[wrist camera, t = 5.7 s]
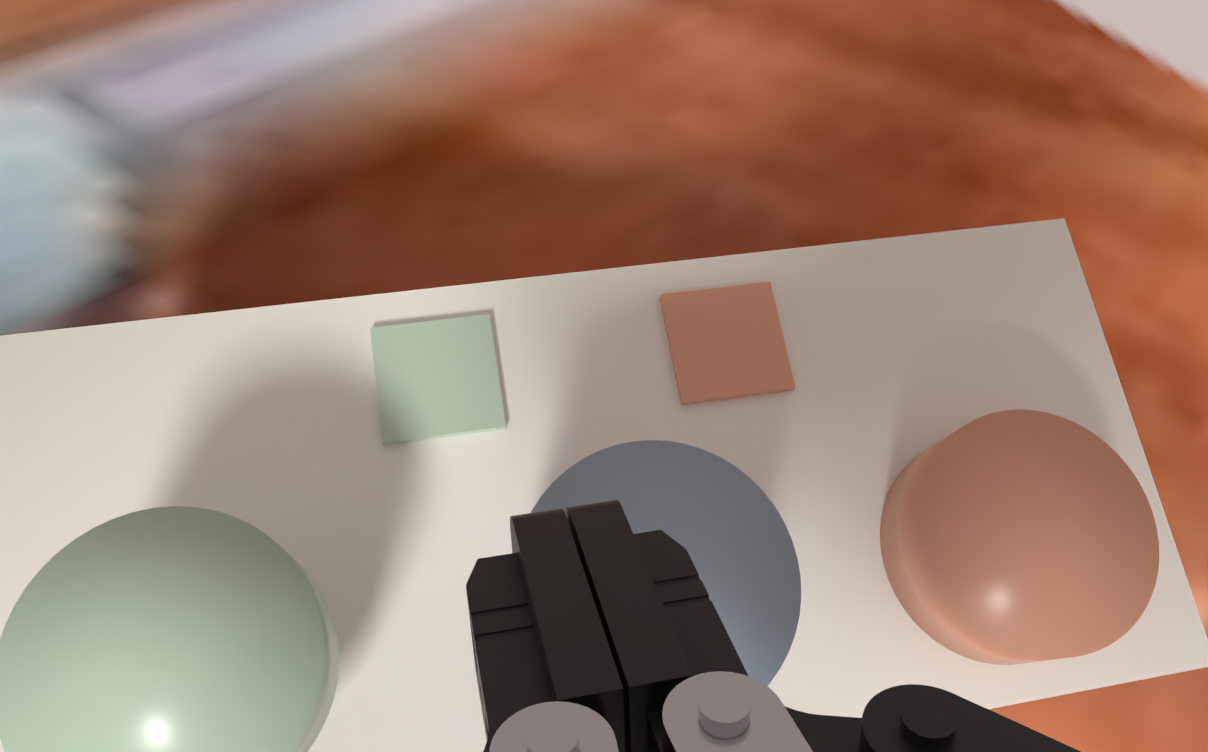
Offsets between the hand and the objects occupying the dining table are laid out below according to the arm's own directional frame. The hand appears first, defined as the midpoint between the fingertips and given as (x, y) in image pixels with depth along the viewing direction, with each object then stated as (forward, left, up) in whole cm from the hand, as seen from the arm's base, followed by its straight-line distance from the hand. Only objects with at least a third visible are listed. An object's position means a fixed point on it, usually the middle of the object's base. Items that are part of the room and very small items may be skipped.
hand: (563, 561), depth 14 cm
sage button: (-6, 0, -4) cm, 7 cm away
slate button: (+2, 0, -4) cm, 4 cm away
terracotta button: (+9, 0, -6) cm, 11 cm away
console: (+2, +2, -14) cm, 14 cm away
